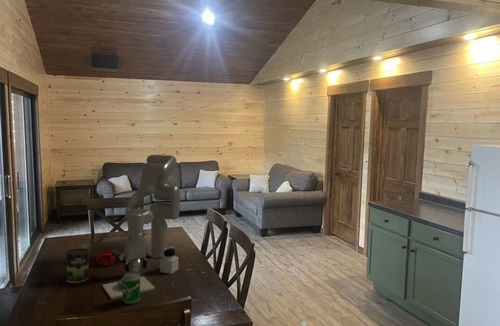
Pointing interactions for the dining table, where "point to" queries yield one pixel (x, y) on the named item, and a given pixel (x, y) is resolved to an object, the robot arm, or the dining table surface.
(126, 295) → the soda can
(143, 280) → the ring board
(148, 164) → the robot arm
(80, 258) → the coffee can
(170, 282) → the dining table surface
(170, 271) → the medicine bottle
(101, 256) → the pomegranate
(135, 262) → the piston
